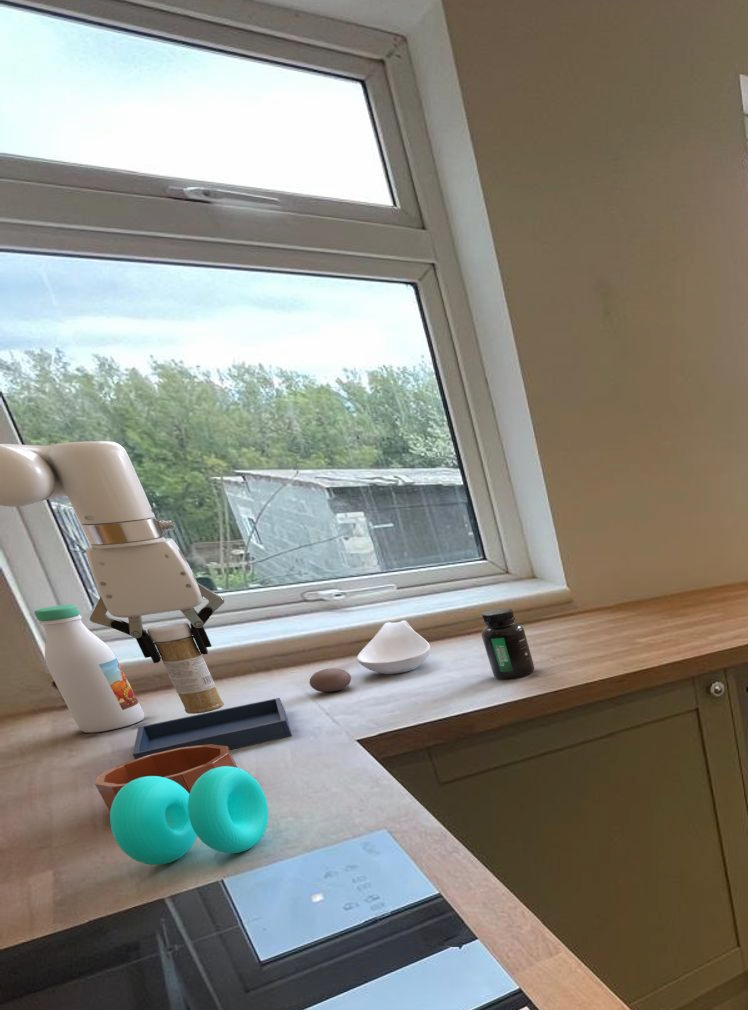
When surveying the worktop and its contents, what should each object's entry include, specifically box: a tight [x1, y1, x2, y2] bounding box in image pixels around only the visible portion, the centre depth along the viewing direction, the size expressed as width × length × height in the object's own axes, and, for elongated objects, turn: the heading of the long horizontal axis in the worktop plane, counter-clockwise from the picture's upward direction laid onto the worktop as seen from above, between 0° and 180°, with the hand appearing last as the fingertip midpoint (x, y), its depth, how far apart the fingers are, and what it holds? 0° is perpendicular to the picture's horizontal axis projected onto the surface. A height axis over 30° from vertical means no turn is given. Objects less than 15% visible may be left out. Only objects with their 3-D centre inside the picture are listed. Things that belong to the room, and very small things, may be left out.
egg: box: [308, 667, 352, 693], centre depth 146 cm, size 6×6×4 cm
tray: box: [132, 697, 293, 760], centre depth 127 cm, size 17×15×3 cm
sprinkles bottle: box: [146, 621, 225, 715], centre depth 123 cm, size 5×5×13 cm
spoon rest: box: [356, 619, 431, 675], centre depth 161 cm, size 24×12×7 cm, turn 31°
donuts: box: [109, 766, 269, 866], centre depth 92 cm, size 10×10×10 cm
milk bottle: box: [34, 604, 145, 733], centre depth 131 cm, size 8×8×20 cm
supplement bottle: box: [481, 608, 535, 680], centre depth 150 cm, size 7×7×12 cm
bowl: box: [95, 744, 239, 812], centre depth 106 cm, size 13×13×5 cm
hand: (180, 655), depth 122 cm, fingers closed on sprinkles bottle, 4 cm apart
